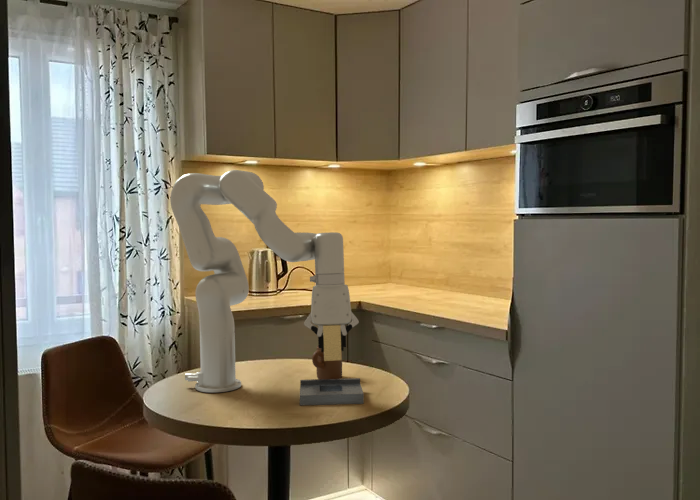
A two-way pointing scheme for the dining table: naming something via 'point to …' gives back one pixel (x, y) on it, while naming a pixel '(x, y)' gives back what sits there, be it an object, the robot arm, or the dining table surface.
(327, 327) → the tan cardboard box
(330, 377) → the mug
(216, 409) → the dining table surface
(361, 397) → the jig
